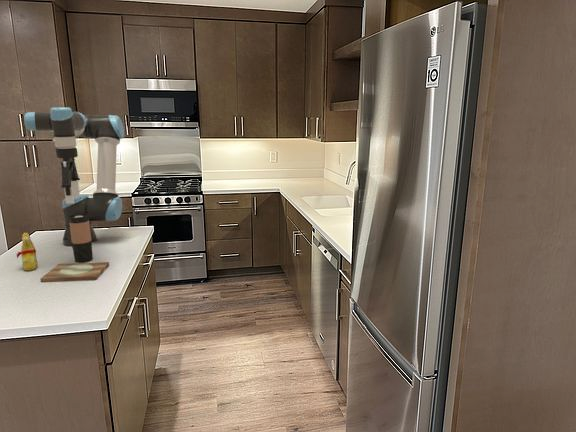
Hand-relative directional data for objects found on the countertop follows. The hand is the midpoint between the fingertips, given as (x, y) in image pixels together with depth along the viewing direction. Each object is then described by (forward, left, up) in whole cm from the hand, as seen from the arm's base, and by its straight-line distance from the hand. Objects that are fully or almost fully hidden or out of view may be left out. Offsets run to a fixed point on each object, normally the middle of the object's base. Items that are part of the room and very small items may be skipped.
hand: (73, 199), depth 168 cm
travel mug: (-4, 0, -28) cm, 28 cm away
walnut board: (+12, +3, -28) cm, 30 cm away
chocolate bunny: (+3, -20, -28) cm, 34 cm away
